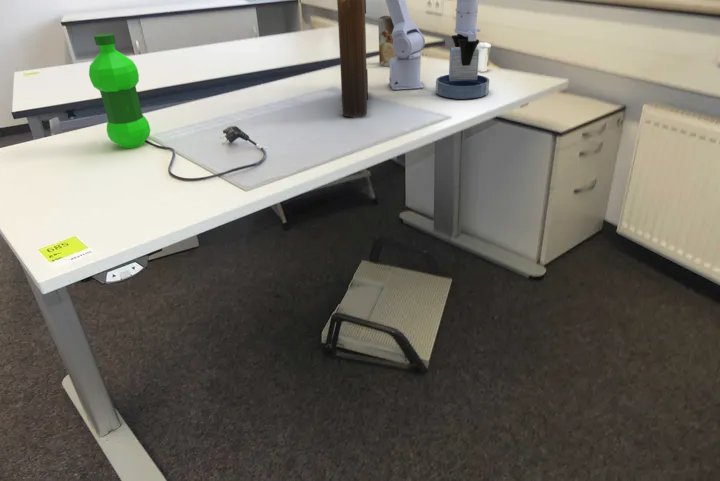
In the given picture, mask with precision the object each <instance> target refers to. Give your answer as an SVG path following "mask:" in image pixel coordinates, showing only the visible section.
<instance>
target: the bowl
mask: <svg viewBox="0 0 720 481" xmlns="http://www.w3.org/2000/svg"><path fill="white" fill-rule="evenodd" d="M489 89H490V79H489V78H488V77H487V76H484V75H481V74H478V76H477V80H460V81H450V79H449V74H444V75H441V76H439V77H437V78H436V80H435V93H436V94H437V95H439V96H441V97H444V98H449V99H456V100H471V99H478V98H481V97H483V96H486V95H488V94H489V91H490V90H489Z"/></svg>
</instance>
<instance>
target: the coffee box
mask: <svg viewBox="0 0 720 481" xmlns="http://www.w3.org/2000/svg"><path fill="white" fill-rule="evenodd" d="M377 20H378V21H377V22H378V23H377V24H378V55H379V56H378V58H379V59H378V63H379V66H380V67H390V58H395V57H397V55H396V54H395V53H394V50H393V38H392V32H393V29H394V25H393V22H392V19H391V16H390V15H382V16H379V18H377Z"/></svg>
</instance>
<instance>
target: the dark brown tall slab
mask: <svg viewBox="0 0 720 481" xmlns="http://www.w3.org/2000/svg"><path fill="white" fill-rule="evenodd" d="M336 4H337V22H338V24H337V26H338V43H339V44H338V45H339V65H340V84H341V85H340V86H341V104H342V105H341V106H342V108H341V109H342V114H343V116H345V117H351V118H352V117H363V116H366V115H367V113H368V100H369V77H368V73H369V72H368V68H367V35H366V34H367V31H366V14H367V0H336Z"/></svg>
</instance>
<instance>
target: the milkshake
mask: <svg viewBox="0 0 720 481" xmlns="http://www.w3.org/2000/svg"><path fill="white" fill-rule="evenodd" d="M494 41H495V39H493V41H492V43H489V42H487V41H484V42H479V43H478V45H477V47H478V49H479V61H478V73H479V72H480V73H485V72H487V71H488V67H489V61H490V56H491V55H490V54H491V49H492V44H493V42H494Z"/></svg>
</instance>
